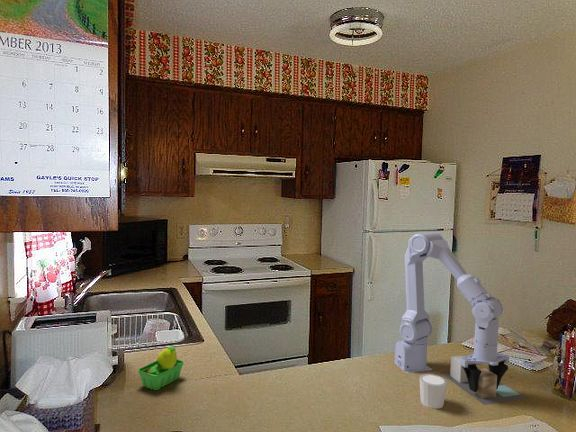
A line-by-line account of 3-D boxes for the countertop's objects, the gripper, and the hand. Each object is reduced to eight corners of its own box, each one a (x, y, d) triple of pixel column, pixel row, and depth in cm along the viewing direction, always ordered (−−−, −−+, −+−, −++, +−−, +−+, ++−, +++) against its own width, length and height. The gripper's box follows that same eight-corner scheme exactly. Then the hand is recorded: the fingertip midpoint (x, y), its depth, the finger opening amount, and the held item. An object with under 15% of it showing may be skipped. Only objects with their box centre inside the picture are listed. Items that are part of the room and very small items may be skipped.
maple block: (482, 398, 107) (483, 377, 107) (470, 390, 112) (471, 369, 111) (496, 396, 108) (497, 375, 108) (484, 388, 113) (485, 368, 112)
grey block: (460, 382, 116) (461, 363, 116) (450, 375, 120) (451, 356, 120) (473, 381, 117) (473, 361, 117) (462, 374, 121) (463, 355, 121)
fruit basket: (166, 371, 121) (166, 335, 121) (188, 378, 117) (188, 341, 117) (136, 387, 111) (136, 348, 111) (159, 395, 107) (159, 355, 106)
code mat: (484, 406, 104) (484, 404, 104) (441, 375, 122) (441, 373, 122) (527, 400, 108) (527, 398, 108) (479, 371, 125) (479, 369, 125)
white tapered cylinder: (445, 400, 107) (446, 375, 106) (446, 414, 100) (447, 387, 100) (418, 396, 109) (419, 371, 109) (418, 409, 103) (419, 383, 102)
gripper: (473, 349, 103) (471, 399, 104) (519, 344, 107) (516, 393, 108) (456, 339, 110) (453, 386, 111) (499, 335, 114) (496, 381, 115)
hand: (483, 389), depth 110 cm, fingers open, 6 cm apart
